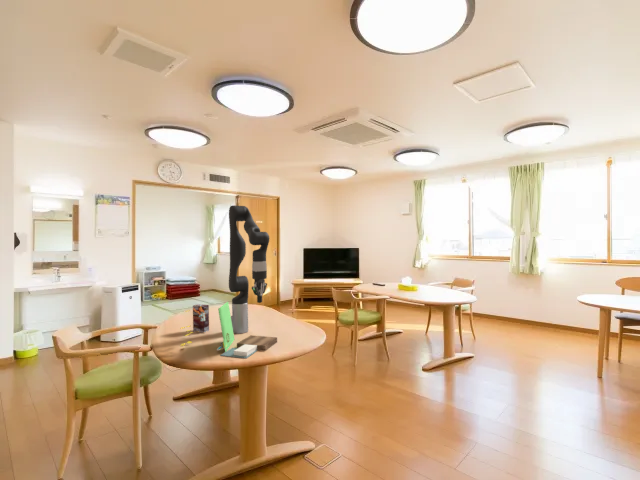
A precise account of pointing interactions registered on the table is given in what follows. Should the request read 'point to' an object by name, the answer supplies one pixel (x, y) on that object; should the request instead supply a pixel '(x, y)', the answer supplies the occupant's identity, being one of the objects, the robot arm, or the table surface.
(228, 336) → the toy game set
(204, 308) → the supplement box
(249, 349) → the tile
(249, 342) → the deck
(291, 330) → the table surface
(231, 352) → the mat
